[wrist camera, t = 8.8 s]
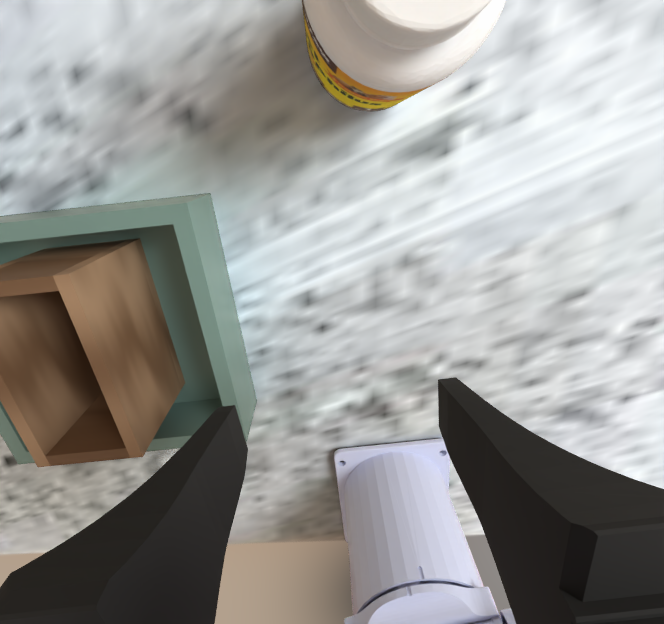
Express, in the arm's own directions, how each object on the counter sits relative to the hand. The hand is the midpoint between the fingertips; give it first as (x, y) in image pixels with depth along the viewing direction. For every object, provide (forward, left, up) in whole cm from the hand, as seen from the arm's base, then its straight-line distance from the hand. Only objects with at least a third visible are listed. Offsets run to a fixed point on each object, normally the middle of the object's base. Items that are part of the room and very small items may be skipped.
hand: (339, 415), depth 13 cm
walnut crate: (+1, +12, -9) cm, 15 cm away
